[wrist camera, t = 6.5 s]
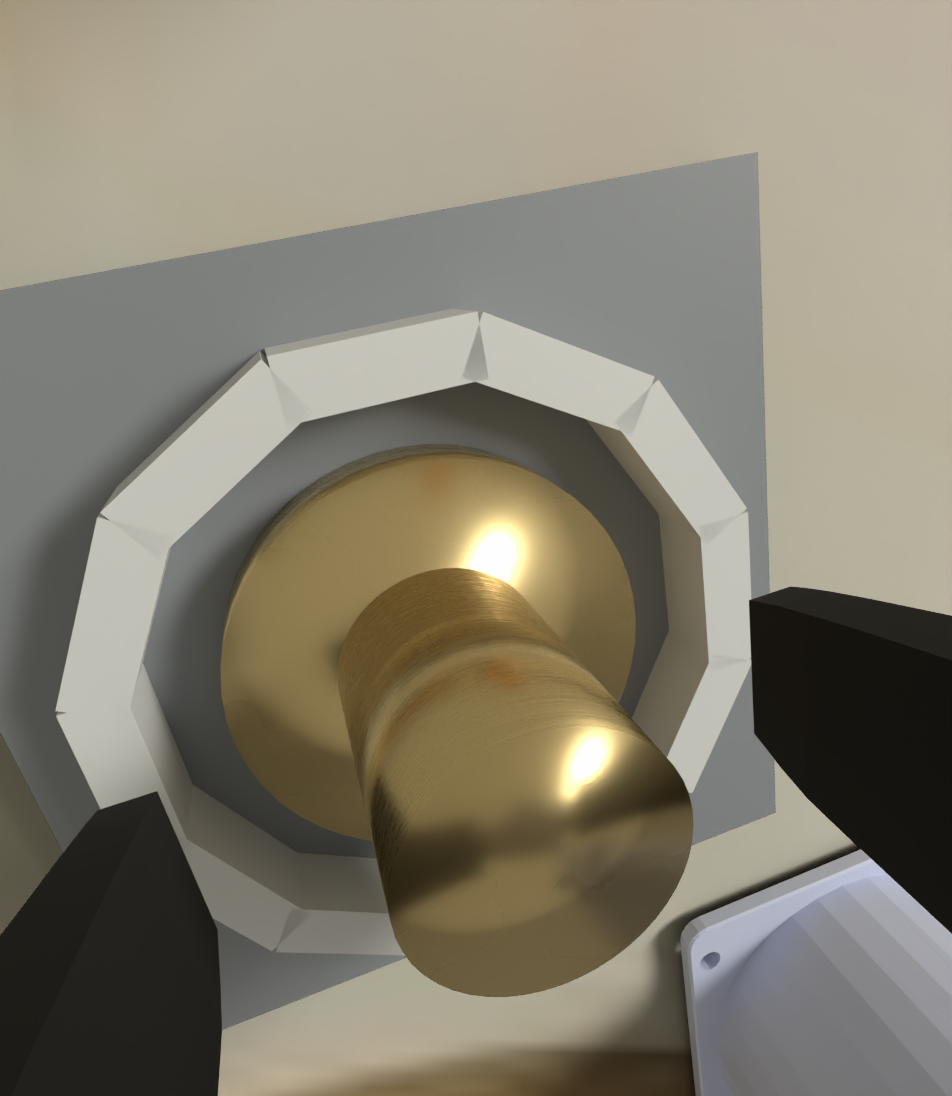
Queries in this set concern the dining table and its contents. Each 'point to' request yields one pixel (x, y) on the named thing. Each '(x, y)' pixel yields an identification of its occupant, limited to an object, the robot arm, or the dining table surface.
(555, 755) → the brass cabinet knob
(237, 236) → the dining table surface
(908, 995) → the robot arm
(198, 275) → the carrier plate
